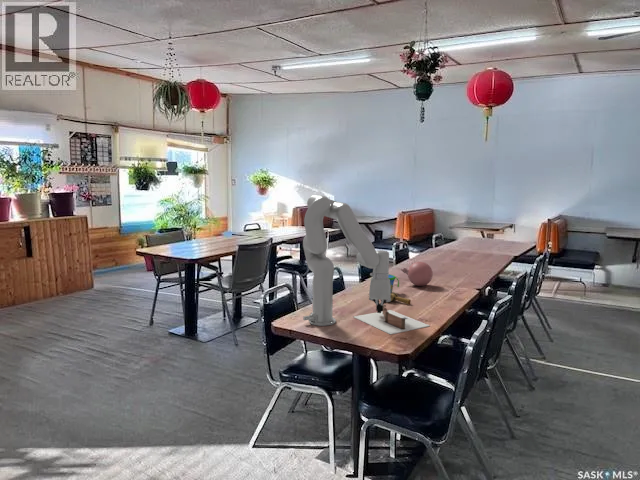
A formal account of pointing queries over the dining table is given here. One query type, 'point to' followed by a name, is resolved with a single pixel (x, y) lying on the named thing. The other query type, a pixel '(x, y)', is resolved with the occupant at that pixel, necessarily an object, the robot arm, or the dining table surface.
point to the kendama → (399, 298)
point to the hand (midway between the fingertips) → (379, 312)
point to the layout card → (379, 323)
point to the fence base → (394, 320)
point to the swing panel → (384, 310)
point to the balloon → (419, 273)
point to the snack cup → (392, 281)
